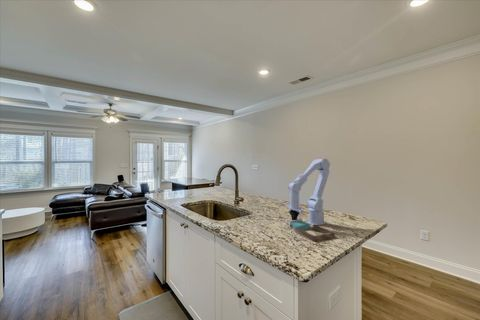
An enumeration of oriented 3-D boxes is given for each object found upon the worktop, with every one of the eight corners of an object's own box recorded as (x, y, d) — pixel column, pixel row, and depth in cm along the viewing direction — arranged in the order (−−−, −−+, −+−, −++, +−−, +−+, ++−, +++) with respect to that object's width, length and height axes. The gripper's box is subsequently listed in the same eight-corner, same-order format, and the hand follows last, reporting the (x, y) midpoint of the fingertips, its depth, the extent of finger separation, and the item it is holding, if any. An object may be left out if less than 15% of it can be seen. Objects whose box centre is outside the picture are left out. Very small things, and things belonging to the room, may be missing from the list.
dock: (314, 228, 128) (314, 224, 128) (334, 237, 114) (334, 232, 114) (295, 231, 122) (295, 227, 122) (313, 241, 108) (313, 236, 108)
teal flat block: (301, 225, 135) (301, 219, 135) (310, 228, 128) (310, 222, 128) (289, 227, 132) (289, 220, 132) (297, 231, 124) (297, 224, 124)
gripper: (282, 199, 140) (282, 219, 140) (296, 203, 126) (296, 225, 126) (291, 198, 142) (291, 218, 142) (305, 202, 129) (305, 224, 129)
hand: (294, 221), depth 135 cm, fingers closed
